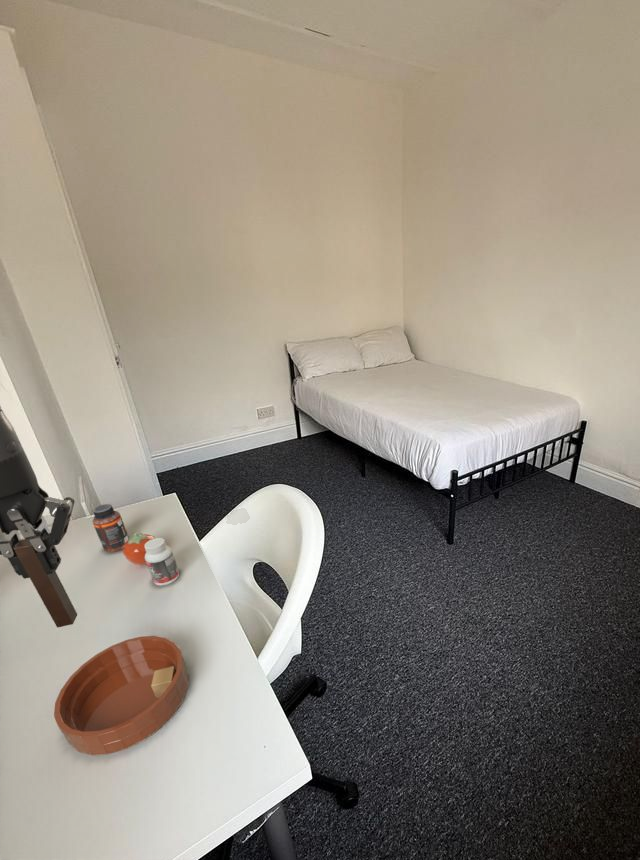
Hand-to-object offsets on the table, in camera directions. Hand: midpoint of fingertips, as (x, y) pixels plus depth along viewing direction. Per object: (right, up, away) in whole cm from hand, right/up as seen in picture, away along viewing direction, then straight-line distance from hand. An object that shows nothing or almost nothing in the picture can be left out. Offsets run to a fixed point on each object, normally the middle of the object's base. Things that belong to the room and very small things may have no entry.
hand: (41, 571), depth 56 cm
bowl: (+5, -23, +11) cm, 26 cm away
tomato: (-11, -7, +44) cm, 46 cm away
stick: (0, -8, +4) cm, 9 cm away
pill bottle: (-3, -10, +38) cm, 40 cm away
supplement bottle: (-22, -5, +50) cm, 55 cm away
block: (+11, -22, +12) cm, 27 cm away
